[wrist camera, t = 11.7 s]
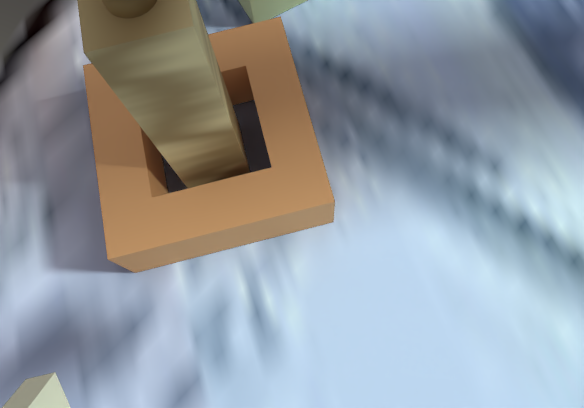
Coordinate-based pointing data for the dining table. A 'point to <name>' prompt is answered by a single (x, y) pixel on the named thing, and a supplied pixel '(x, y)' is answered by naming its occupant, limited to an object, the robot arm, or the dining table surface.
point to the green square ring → (267, 8)
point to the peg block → (167, 82)
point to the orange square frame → (220, 194)
